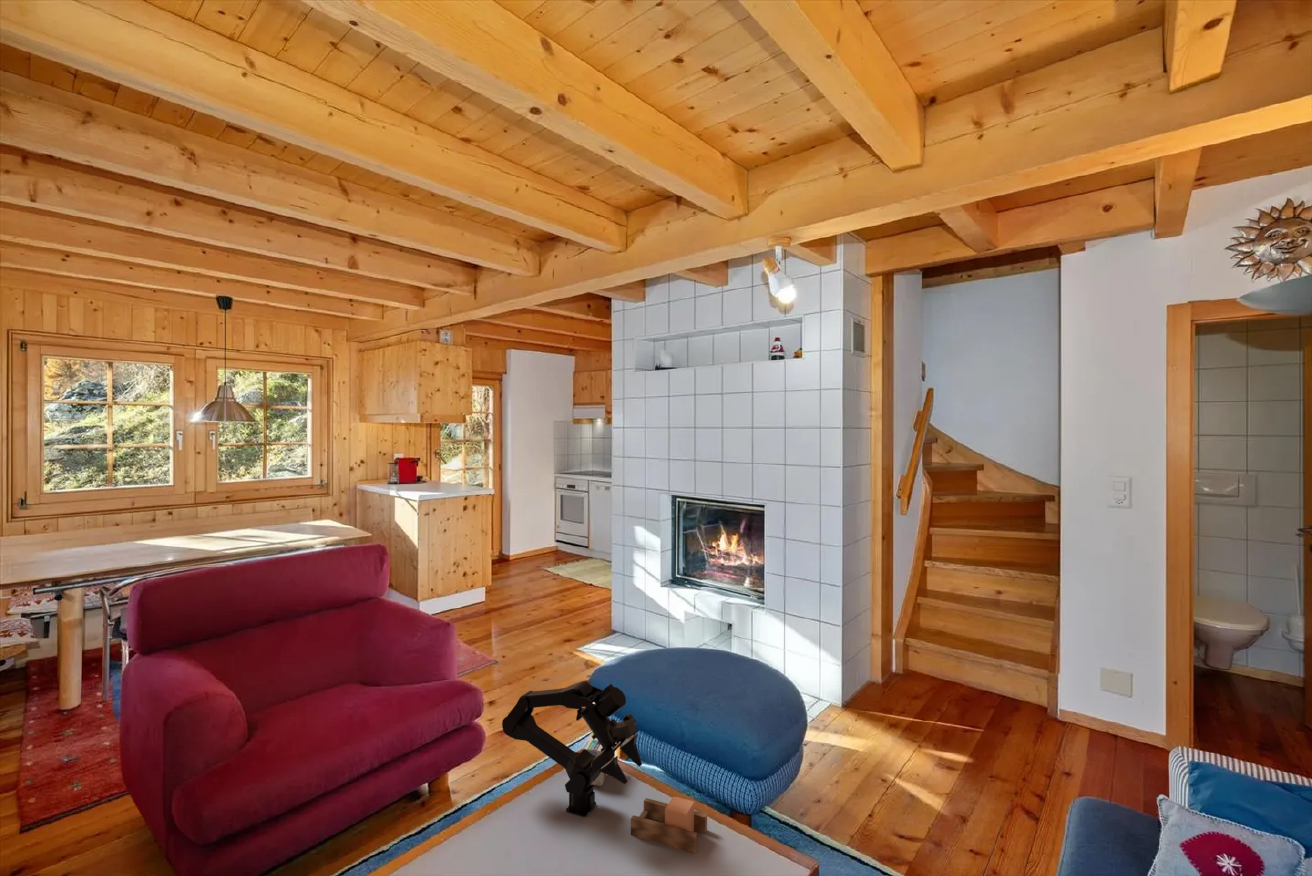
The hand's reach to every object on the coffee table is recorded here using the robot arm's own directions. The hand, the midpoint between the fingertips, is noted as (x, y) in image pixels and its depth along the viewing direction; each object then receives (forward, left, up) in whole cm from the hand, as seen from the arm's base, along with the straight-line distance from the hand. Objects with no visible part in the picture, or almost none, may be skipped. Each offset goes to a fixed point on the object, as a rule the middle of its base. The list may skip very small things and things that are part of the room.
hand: (633, 774), depth 164 cm
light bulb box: (-21, +16, -14) cm, 29 cm away
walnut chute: (+10, 0, -13) cm, 17 cm away
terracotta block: (+13, 0, -13) cm, 19 cm away
